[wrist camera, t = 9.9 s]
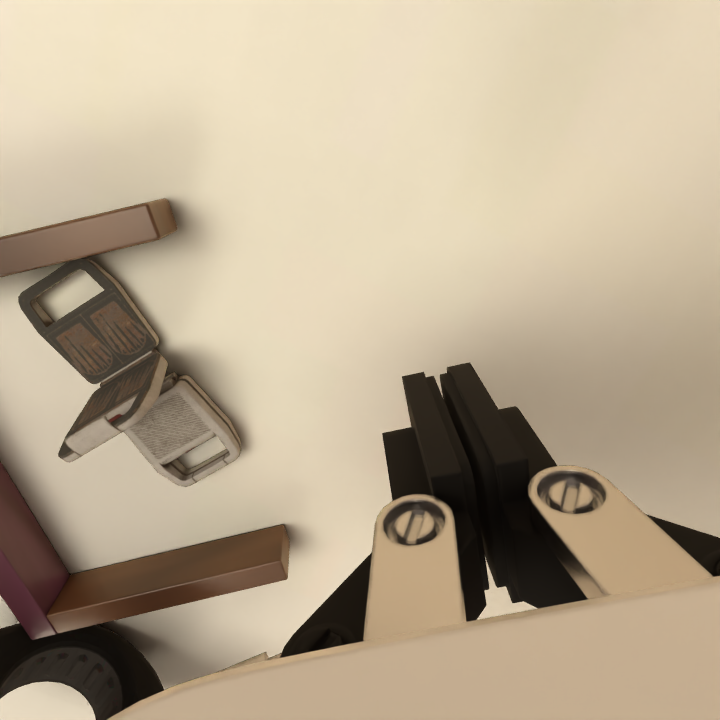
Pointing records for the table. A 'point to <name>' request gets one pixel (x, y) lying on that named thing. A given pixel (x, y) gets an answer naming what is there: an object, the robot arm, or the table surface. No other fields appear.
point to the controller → (79, 666)
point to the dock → (136, 577)
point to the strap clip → (129, 381)
